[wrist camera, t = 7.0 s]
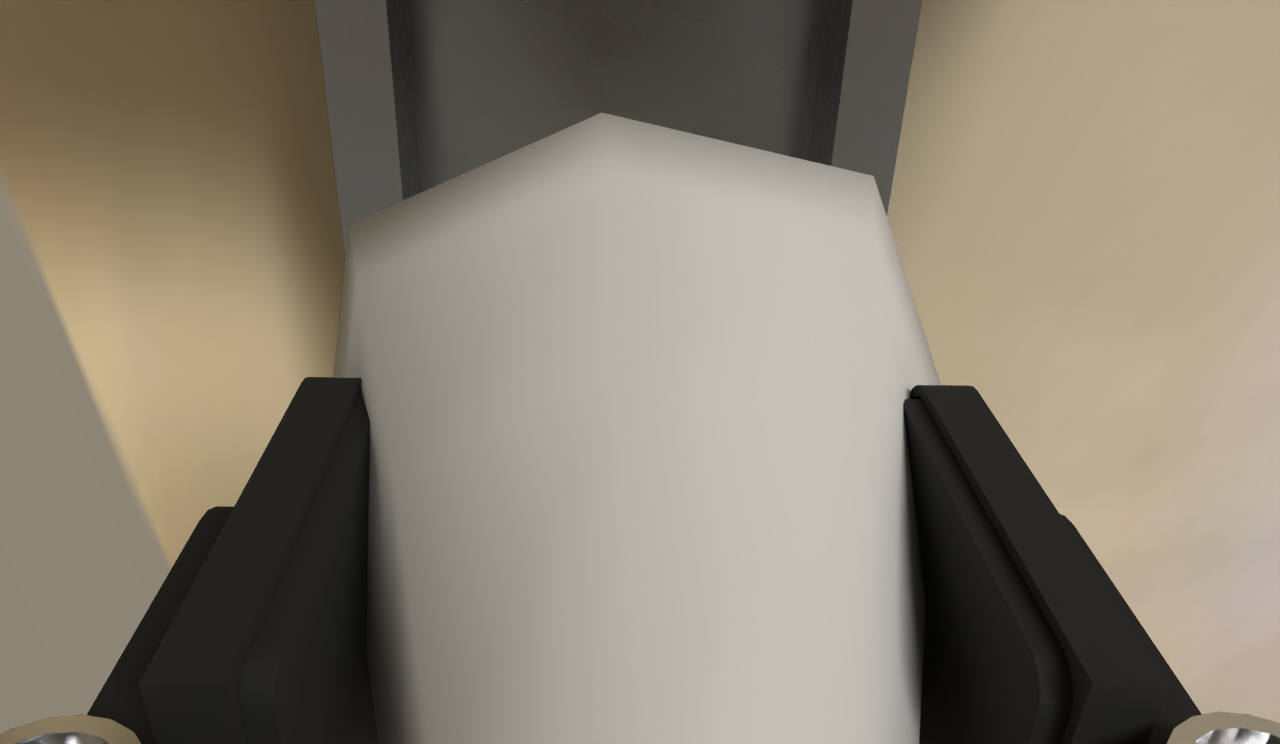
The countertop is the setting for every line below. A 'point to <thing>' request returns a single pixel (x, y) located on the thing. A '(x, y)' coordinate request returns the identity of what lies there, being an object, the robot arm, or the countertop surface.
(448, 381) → the flask
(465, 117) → the cup bracket
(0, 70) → the countertop surface
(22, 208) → the countertop surface
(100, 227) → the countertop surface
